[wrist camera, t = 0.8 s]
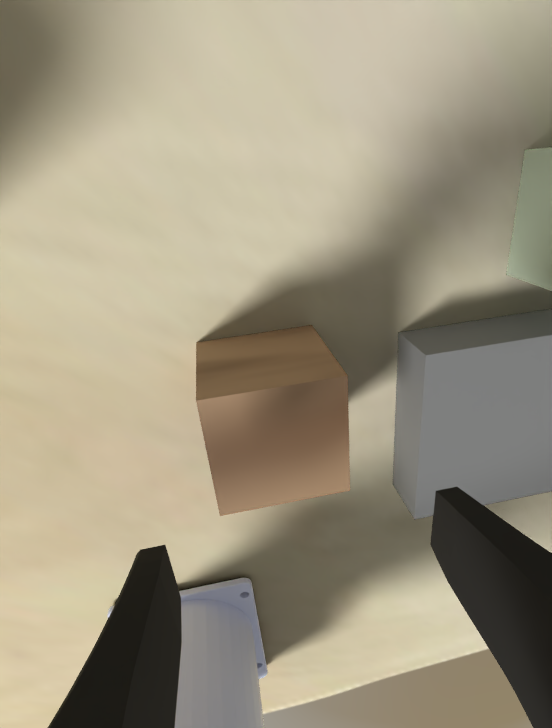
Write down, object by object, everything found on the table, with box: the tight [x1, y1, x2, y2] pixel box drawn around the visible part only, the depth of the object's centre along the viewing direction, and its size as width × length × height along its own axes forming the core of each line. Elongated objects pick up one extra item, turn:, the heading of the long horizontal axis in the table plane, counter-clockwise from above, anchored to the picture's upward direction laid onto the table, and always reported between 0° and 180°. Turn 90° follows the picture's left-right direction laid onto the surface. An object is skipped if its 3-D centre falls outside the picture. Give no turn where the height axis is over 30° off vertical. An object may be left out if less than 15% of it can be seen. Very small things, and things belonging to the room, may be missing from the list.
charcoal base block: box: [393, 309, 552, 520], centre depth 21 cm, size 9×9×3 cm
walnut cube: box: [196, 325, 350, 516], centre depth 17 cm, size 5×5×5 cm
